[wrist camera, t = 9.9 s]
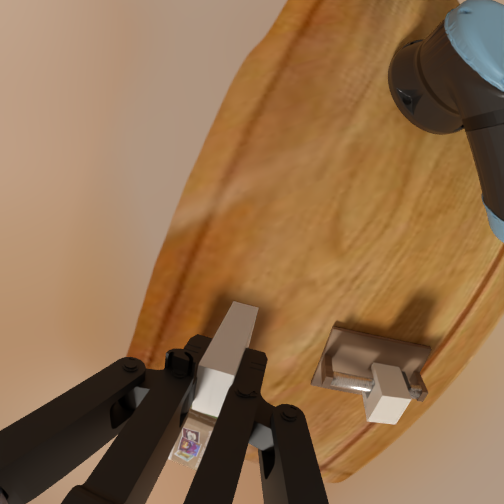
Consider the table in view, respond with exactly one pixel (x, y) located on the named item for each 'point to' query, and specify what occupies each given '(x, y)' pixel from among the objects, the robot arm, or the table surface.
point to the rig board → (368, 358)
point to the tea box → (193, 439)
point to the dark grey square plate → (406, 380)
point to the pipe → (364, 384)
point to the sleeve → (386, 395)
